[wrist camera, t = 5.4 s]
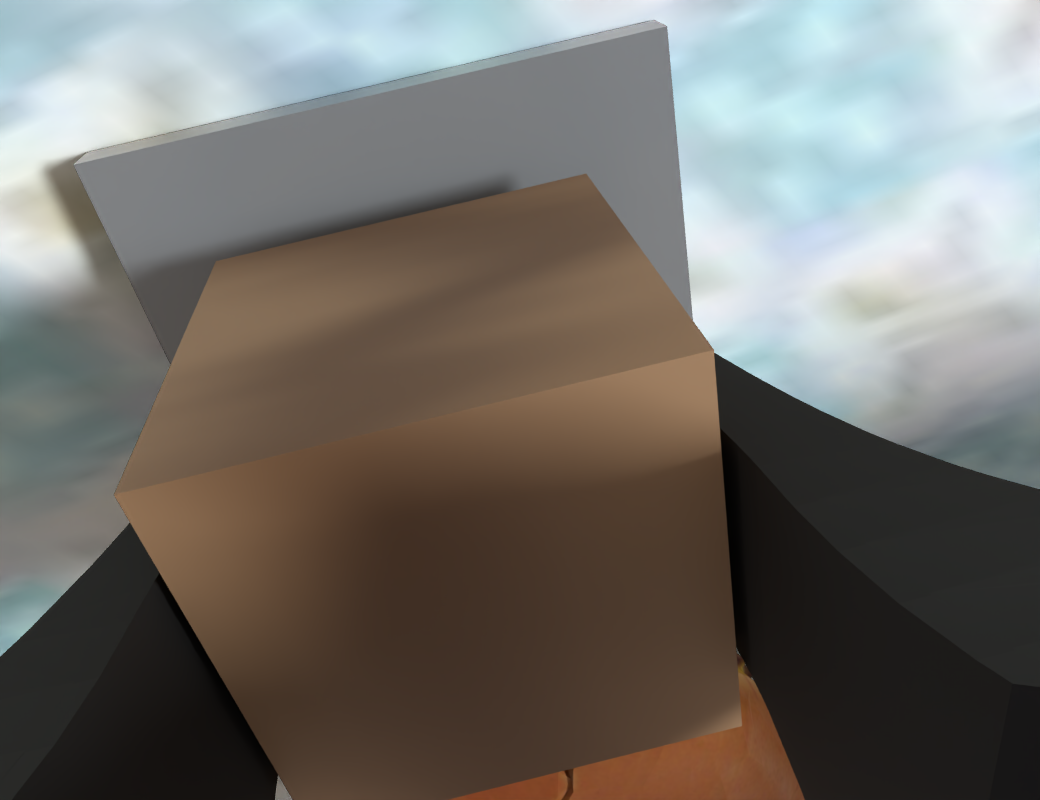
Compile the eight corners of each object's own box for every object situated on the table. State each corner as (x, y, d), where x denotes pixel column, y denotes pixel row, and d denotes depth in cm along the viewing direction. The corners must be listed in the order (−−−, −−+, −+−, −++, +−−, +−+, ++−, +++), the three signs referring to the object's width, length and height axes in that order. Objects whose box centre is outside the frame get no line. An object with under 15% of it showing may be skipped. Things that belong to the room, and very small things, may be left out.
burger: (672, 829, 23) (734, 1029, 19) (318, 830, 20) (303, 1056, 16) (813, 549, 18) (935, 736, 14) (371, 512, 16) (368, 722, 12)
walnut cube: (586, 173, 11) (714, 349, 7) (630, 468, 14) (741, 726, 10) (215, 260, 11) (114, 494, 7) (333, 541, 14) (312, 833, 9)
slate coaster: (654, 20, 12) (666, 26, 11) (697, 469, 16) (707, 488, 15) (87, 152, 11) (73, 164, 11) (284, 569, 16) (281, 593, 15)
